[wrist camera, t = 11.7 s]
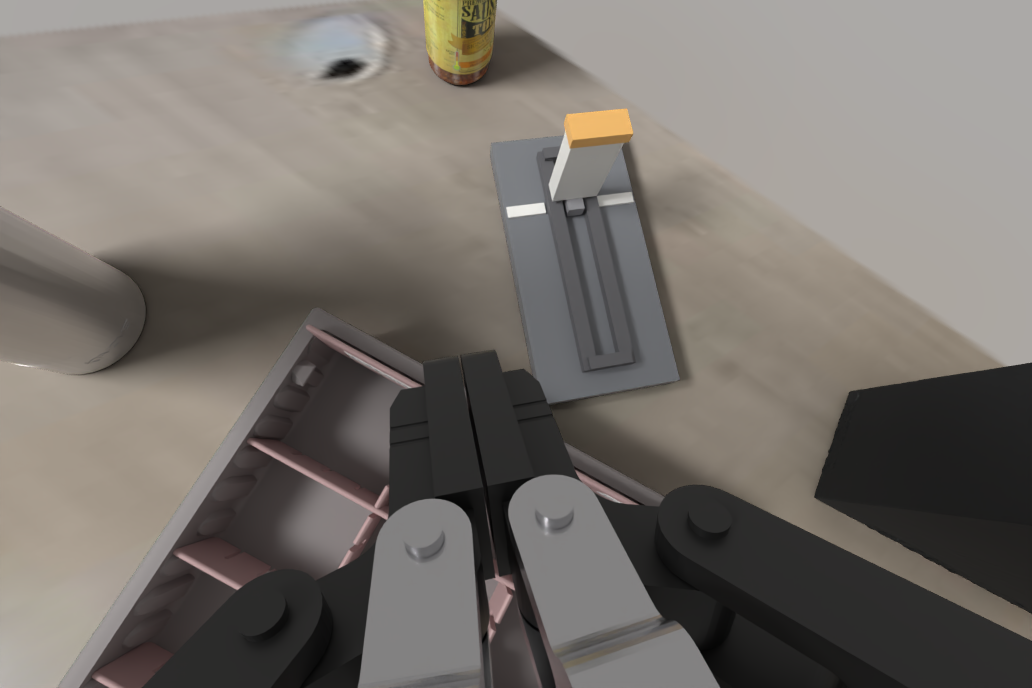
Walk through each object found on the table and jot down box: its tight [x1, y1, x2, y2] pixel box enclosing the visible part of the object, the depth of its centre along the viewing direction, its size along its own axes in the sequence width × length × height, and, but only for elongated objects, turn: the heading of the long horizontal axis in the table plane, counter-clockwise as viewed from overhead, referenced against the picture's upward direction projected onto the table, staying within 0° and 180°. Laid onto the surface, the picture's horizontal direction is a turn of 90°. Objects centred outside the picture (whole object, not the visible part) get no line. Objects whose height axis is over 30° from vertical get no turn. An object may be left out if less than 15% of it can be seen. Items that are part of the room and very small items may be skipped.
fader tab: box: [549, 109, 633, 217], centre depth 40 cm, size 4×4×10 cm
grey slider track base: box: [490, 135, 680, 405], centre depth 44 cm, size 24×12×4 cm, turn 11°
